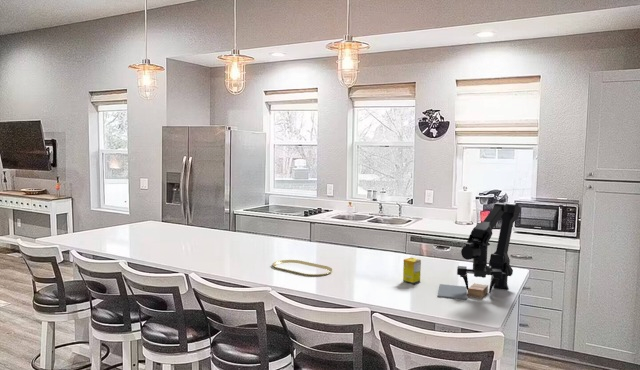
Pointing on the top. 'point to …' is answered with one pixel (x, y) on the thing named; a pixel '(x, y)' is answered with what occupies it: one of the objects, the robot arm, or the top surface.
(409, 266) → the supplement box
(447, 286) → the slate mat
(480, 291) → the cardboard box
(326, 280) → the top surface
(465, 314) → the top surface
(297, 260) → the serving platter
